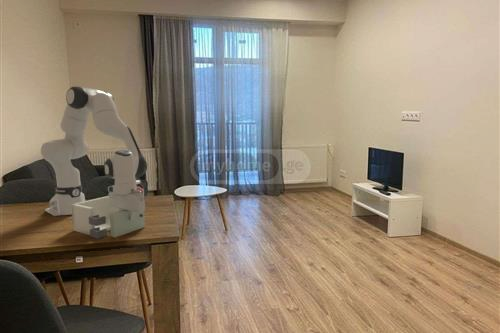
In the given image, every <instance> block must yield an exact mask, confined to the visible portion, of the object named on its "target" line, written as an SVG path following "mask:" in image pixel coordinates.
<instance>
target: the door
mask: <svg viewBox="0 0 500 333" xmlns="http://www.w3.org/2000/svg"><path fill="white" fill-rule="evenodd" d="M130 215H131V213H130V211H129V210H121V211H118V212H114V213H110V227H111V230H110V236H111V237H112V238H118V237H120V236H123V235H125V234H128V233H131V232H134V231H138V230H140V229H143V228H145V227H146V222H145V220H146V219H145V210H144V211H143V212H139V213H138V212H136V214H135V216H134V217H135V219H134V220H129V216H130Z"/></svg>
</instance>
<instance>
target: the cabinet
mask: <svg viewBox="0 0 500 333" xmlns="http://www.w3.org/2000/svg"><path fill="white" fill-rule="evenodd" d="M71 206H72V214H71V217H72V227H73V231H74V232H78V233H81V234H84V235H86V236H87V235H88V236H89V237H91V238H94V239H102V238H105V237H107V236H108V232H109V231H111V227H110V213H114V212H118V211H119V208H115V207H111V206H110V204H109V195H106V196H102V197H97V198H94V199H89V200H85V201H84V202H80V203H75V204H71Z"/></svg>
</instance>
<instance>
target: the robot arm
mask: <svg viewBox="0 0 500 333" xmlns="http://www.w3.org/2000/svg"><path fill="white" fill-rule="evenodd" d="M65 97H66V98H65V99H66V100H65V102H66V103H67V104H66V106H65V109H64V111H63V115H62V119H61V122H60V128H61V130H62V131H63V132H64V134H65V136H64V138H63V139H52V140H48V141H46V142H44V143H42V145H41V147H40V154H41V157H42V158H43V159H44V160H45V161H46V162H48V163H49V164H50V165H51V166H52V169H53V170H54V173H55V179H56V185H57V186H56V187H55V194H54V196H52V198H51V199H50V200H49V202H48V205H49V207H47V208H45V212H46V213H48V214H50V215H51V216H53V217H56V216H68V215H71V216H72V206H71V204H75V203H80V202H84V201H86V198H85V194H84V193H83V192H82V191H83V186H82V184H81V176H80V175H81V174H80V170H79V169H78V168H77V167H75V166H74V165H73V163H72V160H76V159H80V158H82V157H84V156H85V157H86V155H87V154H88V153H89V145H88V142H87V141H86V140H85V129H86V126H87V122H88V119H89V116H90V112H91V114H92V119H93V124H94V125H95V128H96V129H97V131H99V132H100V133H102V134H104V135H106V136H111V137H114V138H117V139H119V140H121V141H122V142H123V143H124V145H125V147H126V149H127V150H117V151H115V152H114V153H113V156H112V157H109V158H107V159H106V160H105V161H104V163H103V169H104V170H103V171H104V175H105V176H107V177H108V178H109V179H114V184H113V185H110V186H108V187H107V191H108V196H109V204H110V206H111V207H115V208H119V211H121V210H129V211H130V213H131V215H130V216H129V220H134V219H135V217H134V216H135V214H136V212H138V213H139V212H143V211H144V212H145V210H146V202H145V196H144V197H143V194H142V193H141V191H139V190H137V186H136V180H137V179H136V178H141V177H142V176H143V175H144V174H145V173H146V172H147V170H148V162H147V161H146V158H145V156H144V155H143V153H142V152H141V150H140V147H139V145H138V142H137V141H136V138H135V136H134V134H133V132H132V130H131V128H130V127H129V125H127V124H126V123H125V122H123V121H122V119H121V118H120V116H119V112H118V109H117V106H116V103H115V99H114V97H113V95H112V94H111V93H110V92H108V91H102V90H99V89H97V88H89V87H81V86H71V87H70V88H69V89H68V90H67V92H66V94H65Z"/></svg>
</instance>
